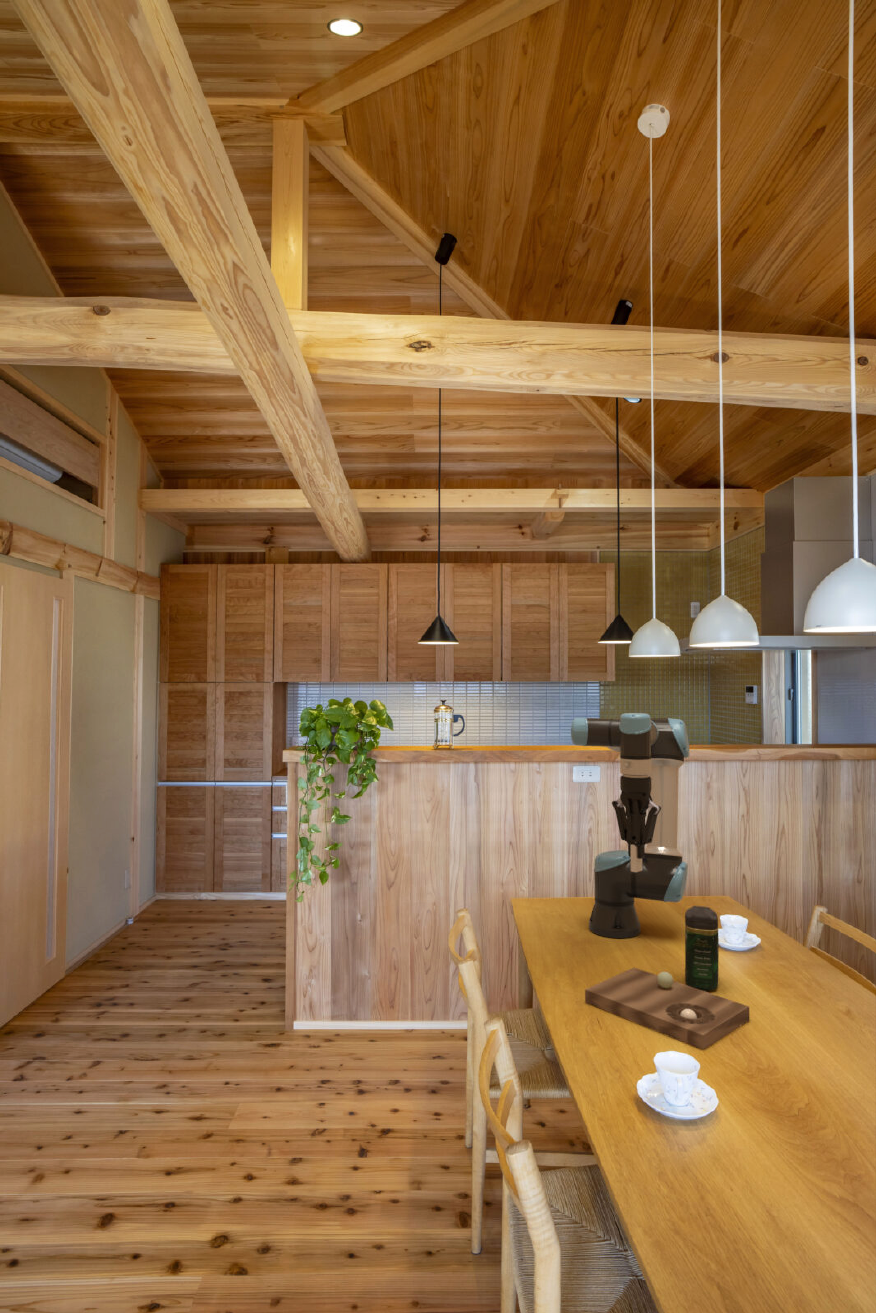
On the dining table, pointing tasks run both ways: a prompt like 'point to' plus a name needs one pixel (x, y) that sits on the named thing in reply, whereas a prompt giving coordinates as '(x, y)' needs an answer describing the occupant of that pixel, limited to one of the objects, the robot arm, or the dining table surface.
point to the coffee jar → (701, 948)
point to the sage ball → (665, 980)
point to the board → (668, 1007)
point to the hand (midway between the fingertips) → (636, 870)
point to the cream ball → (688, 1014)
